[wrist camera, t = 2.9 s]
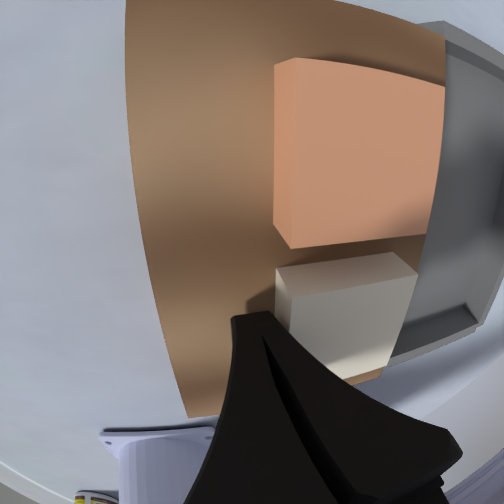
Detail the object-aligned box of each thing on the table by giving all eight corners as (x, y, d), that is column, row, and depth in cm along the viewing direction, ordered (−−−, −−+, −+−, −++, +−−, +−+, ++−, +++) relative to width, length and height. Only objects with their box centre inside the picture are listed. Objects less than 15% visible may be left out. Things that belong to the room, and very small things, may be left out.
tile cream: (369, 340, 13) (386, 365, 11) (272, 363, 12) (283, 393, 10) (392, 251, 10) (418, 274, 9) (276, 268, 10) (292, 297, 8)
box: (462, 310, 18) (480, 328, 16) (364, 342, 17) (382, 368, 15) (511, 76, 10) (539, 81, 8) (407, 25, 9) (443, 20, 7)
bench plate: (359, 346, 17) (379, 376, 14) (184, 378, 15) (188, 418, 13) (402, 40, 9) (444, 36, 7) (138, 19, 7) (126, -4, 5)
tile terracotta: (397, 214, 10) (426, 233, 8) (273, 223, 9) (290, 249, 8) (410, 84, 8) (445, 86, 6) (274, 64, 7) (295, 57, 5)
